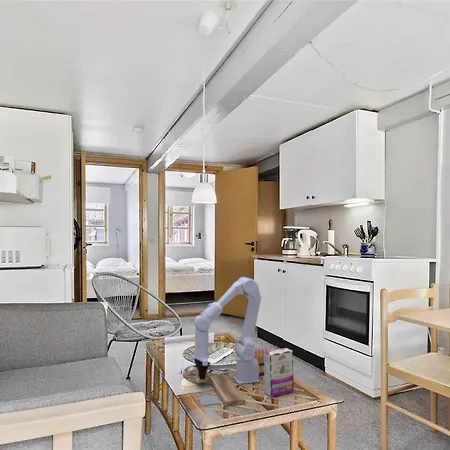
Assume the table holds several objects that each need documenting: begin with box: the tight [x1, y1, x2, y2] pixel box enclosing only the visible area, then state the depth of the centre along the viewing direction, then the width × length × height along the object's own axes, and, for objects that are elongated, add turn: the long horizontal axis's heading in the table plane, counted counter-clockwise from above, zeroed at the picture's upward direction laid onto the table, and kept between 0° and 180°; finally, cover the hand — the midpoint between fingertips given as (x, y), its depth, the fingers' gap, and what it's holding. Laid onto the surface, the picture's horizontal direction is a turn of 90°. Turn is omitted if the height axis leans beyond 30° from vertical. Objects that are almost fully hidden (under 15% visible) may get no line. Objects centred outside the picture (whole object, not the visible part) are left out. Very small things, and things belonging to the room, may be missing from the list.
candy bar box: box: [263, 347, 295, 398], centre depth 143 cm, size 11×5×16 cm, turn 117°
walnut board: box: [208, 374, 247, 407], centre depth 144 cm, size 8×26×2 cm, turn 16°
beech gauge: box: [195, 367, 208, 384], centre depth 151 cm, size 4×3×6 cm
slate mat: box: [197, 394, 221, 407], centre depth 135 cm, size 7×7×1 cm
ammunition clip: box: [254, 346, 268, 377], centre depth 164 cm, size 11×2×12 cm, turn 115°
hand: (201, 377), depth 151 cm, fingers closed on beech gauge, 3 cm apart
